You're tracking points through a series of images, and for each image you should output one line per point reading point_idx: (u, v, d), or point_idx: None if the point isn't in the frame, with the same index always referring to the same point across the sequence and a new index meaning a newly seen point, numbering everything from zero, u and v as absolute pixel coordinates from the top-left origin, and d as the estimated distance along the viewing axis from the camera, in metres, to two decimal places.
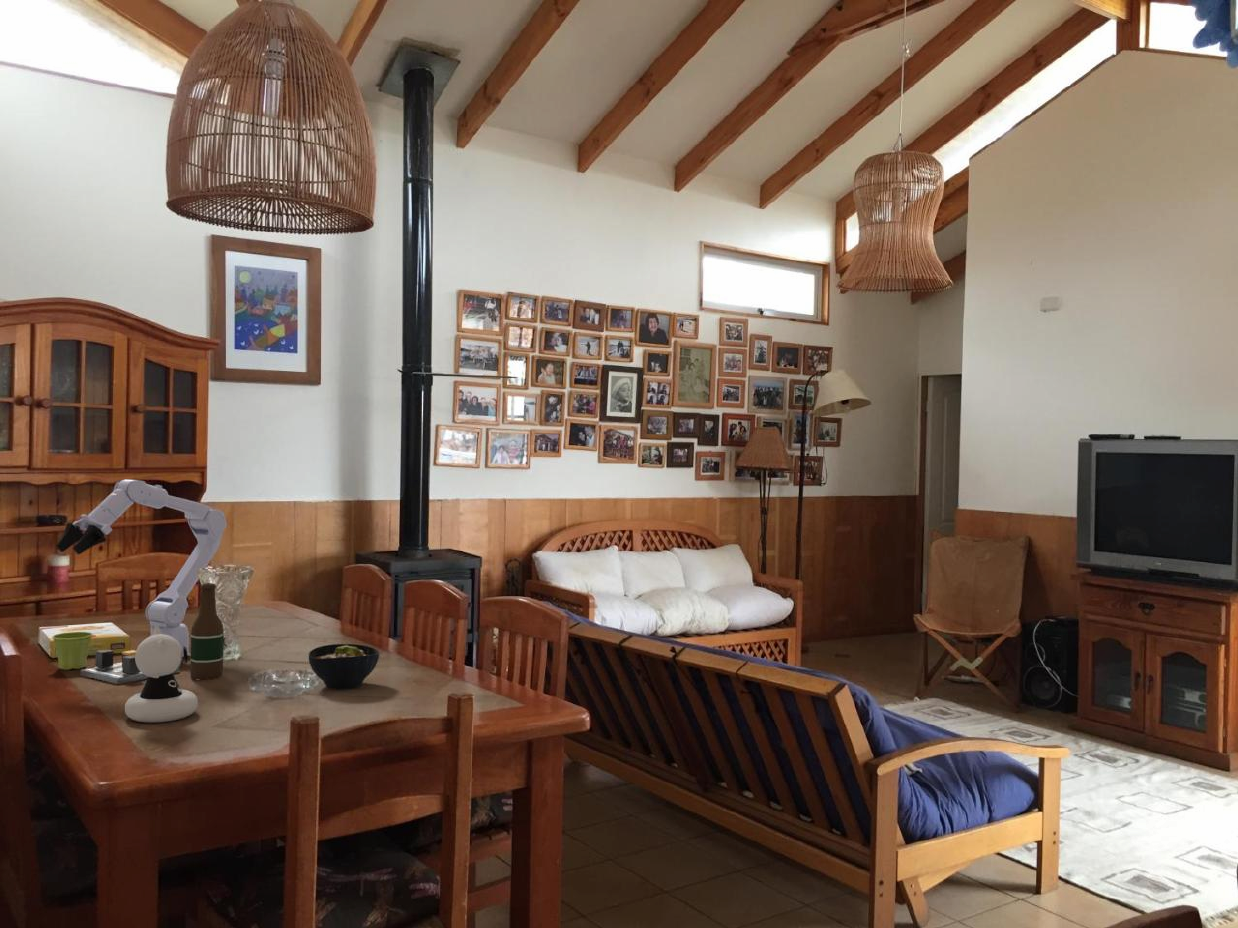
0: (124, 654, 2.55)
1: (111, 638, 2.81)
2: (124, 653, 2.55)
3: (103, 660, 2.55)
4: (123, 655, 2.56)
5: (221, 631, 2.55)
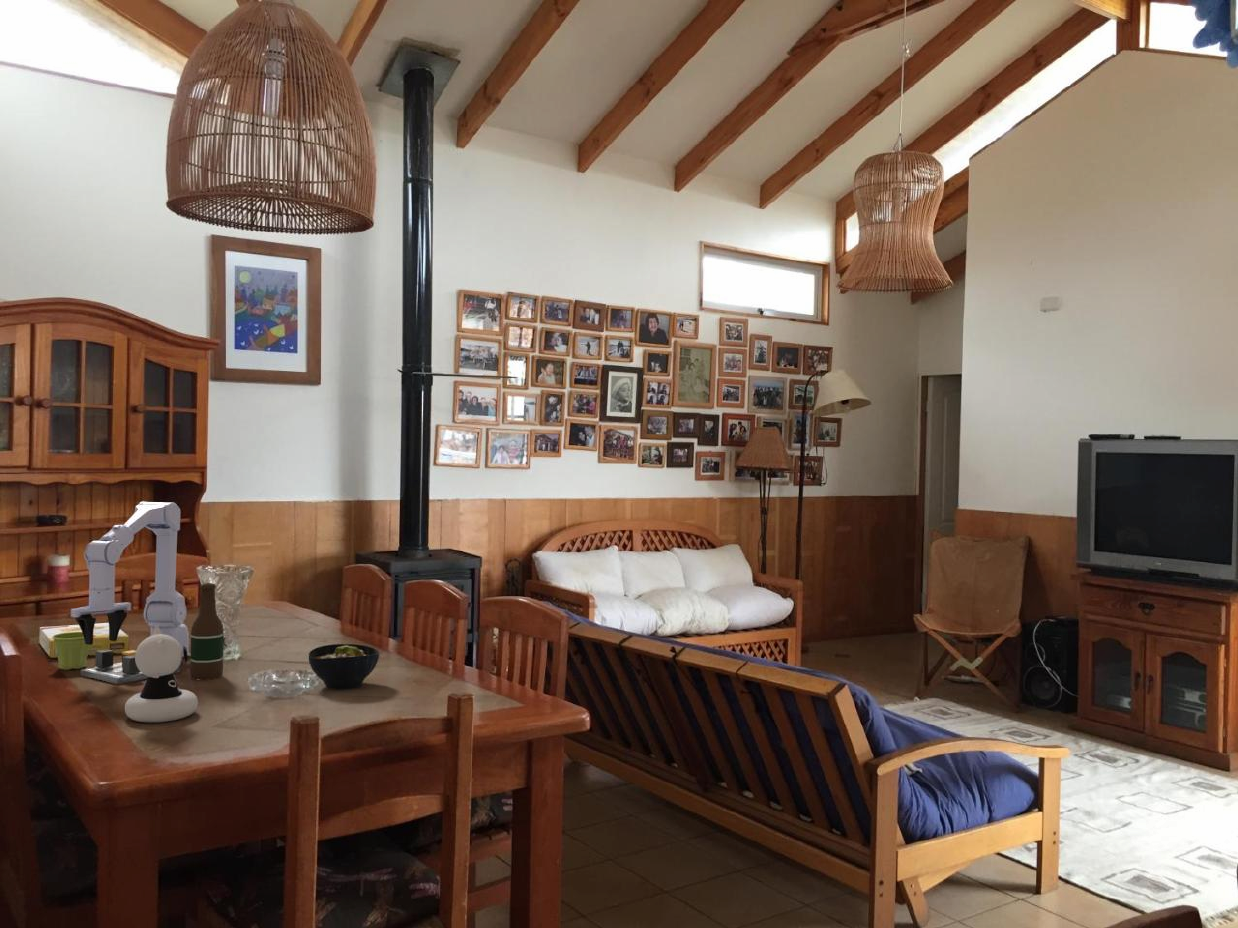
0: (124, 654, 2.55)
1: None
2: (124, 653, 2.55)
3: (103, 660, 2.55)
4: (123, 655, 2.56)
5: (221, 631, 2.55)
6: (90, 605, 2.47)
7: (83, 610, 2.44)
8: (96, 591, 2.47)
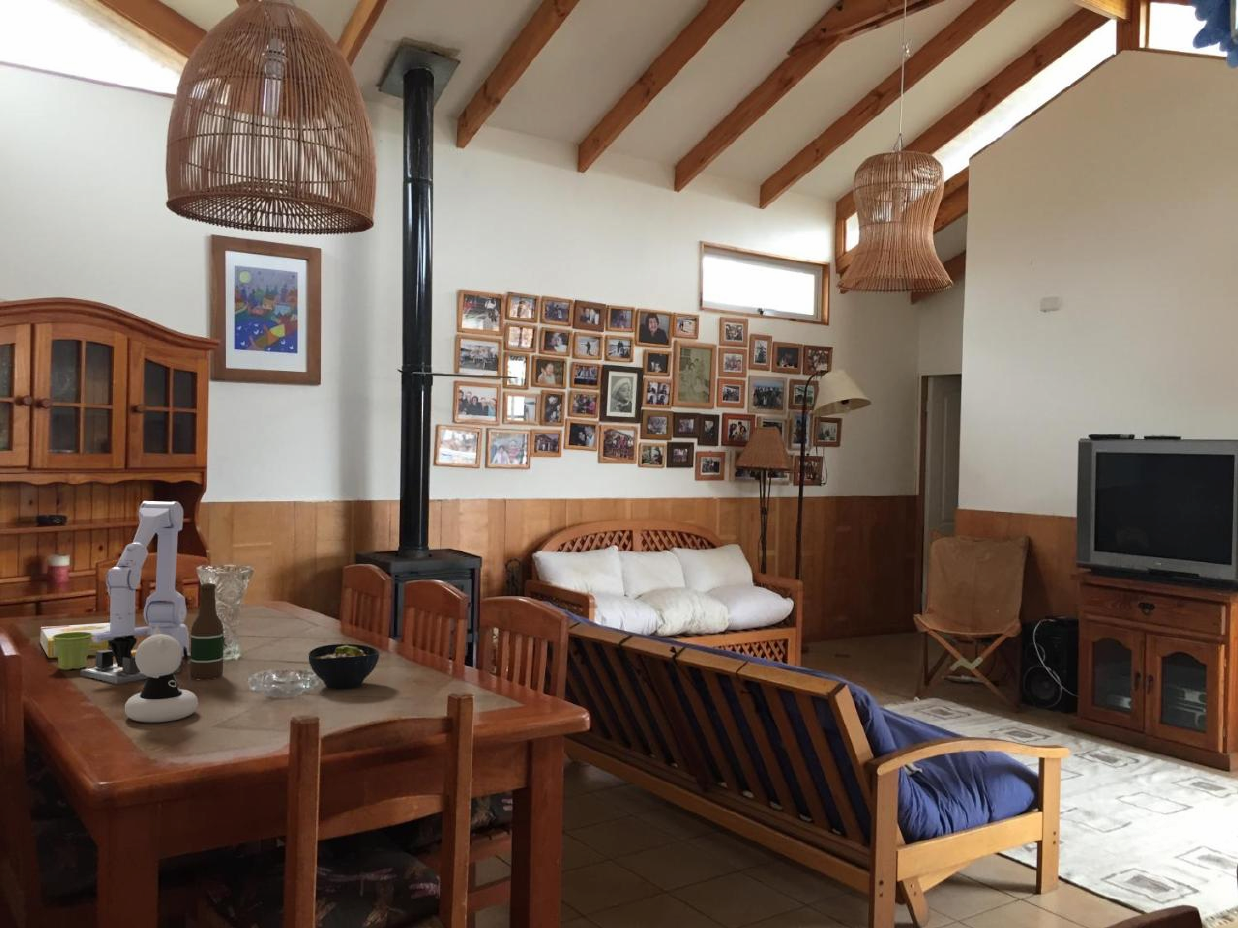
0: None
1: None
2: None
3: (103, 660, 2.55)
4: None
5: (221, 631, 2.55)
6: (111, 630, 2.52)
7: (105, 635, 2.49)
8: (117, 616, 2.52)
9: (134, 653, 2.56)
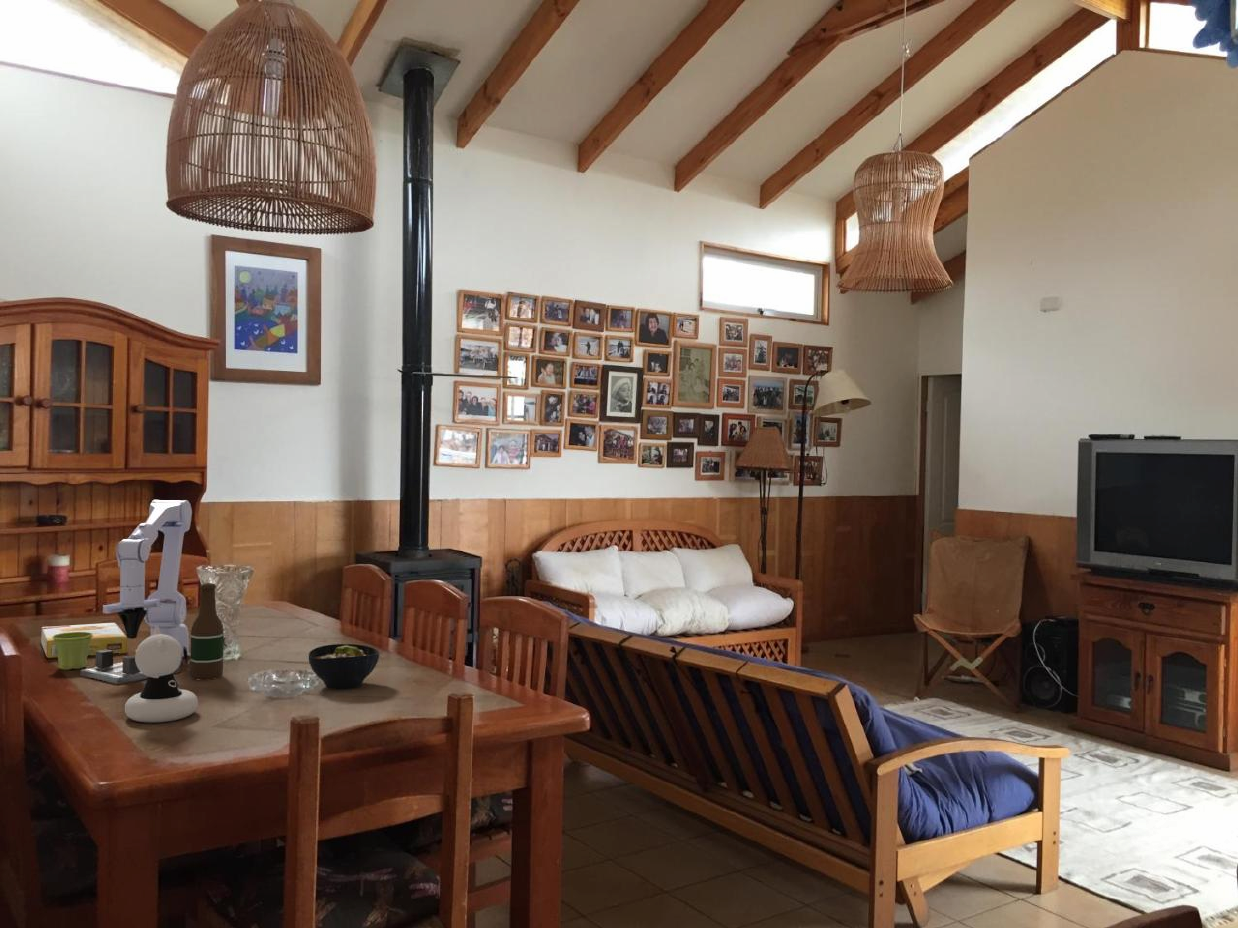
0: None
1: (107, 638, 2.80)
2: None
3: (103, 660, 2.55)
4: None
5: (221, 631, 2.55)
6: (121, 602, 2.54)
7: (115, 606, 2.51)
8: (127, 588, 2.54)
9: None
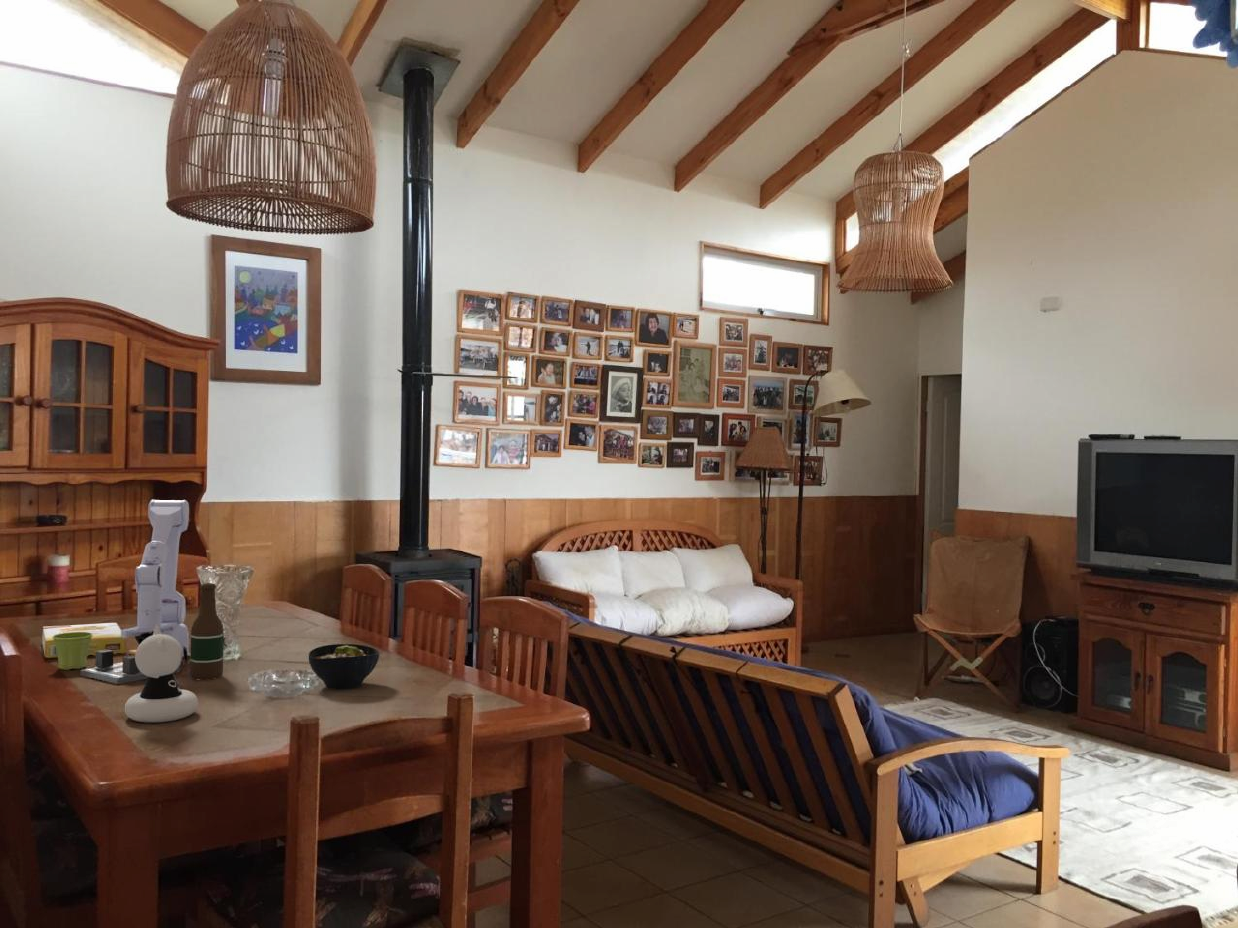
0: (131, 653, 2.57)
1: (106, 639, 2.80)
2: (131, 652, 2.57)
3: (103, 660, 2.55)
4: (130, 654, 2.57)
5: (221, 631, 2.55)
6: (139, 626, 2.58)
7: (132, 631, 2.55)
8: (144, 613, 2.58)
9: None
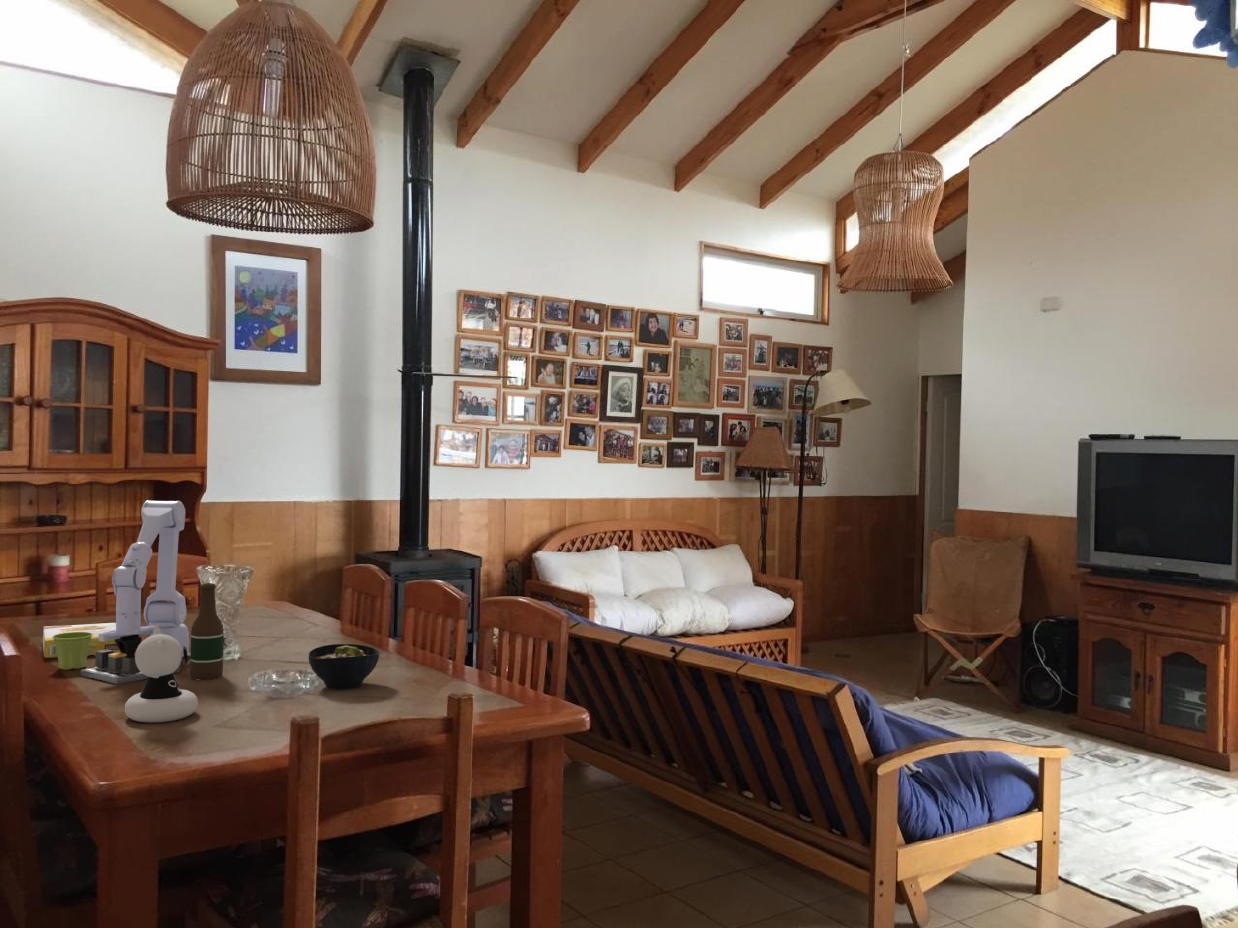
0: (110, 656, 2.52)
1: None
2: (110, 655, 2.52)
3: (103, 660, 2.55)
4: (109, 657, 2.53)
5: (221, 631, 2.55)
6: (117, 629, 2.53)
7: (111, 634, 2.51)
8: (123, 615, 2.53)
9: (118, 656, 2.52)
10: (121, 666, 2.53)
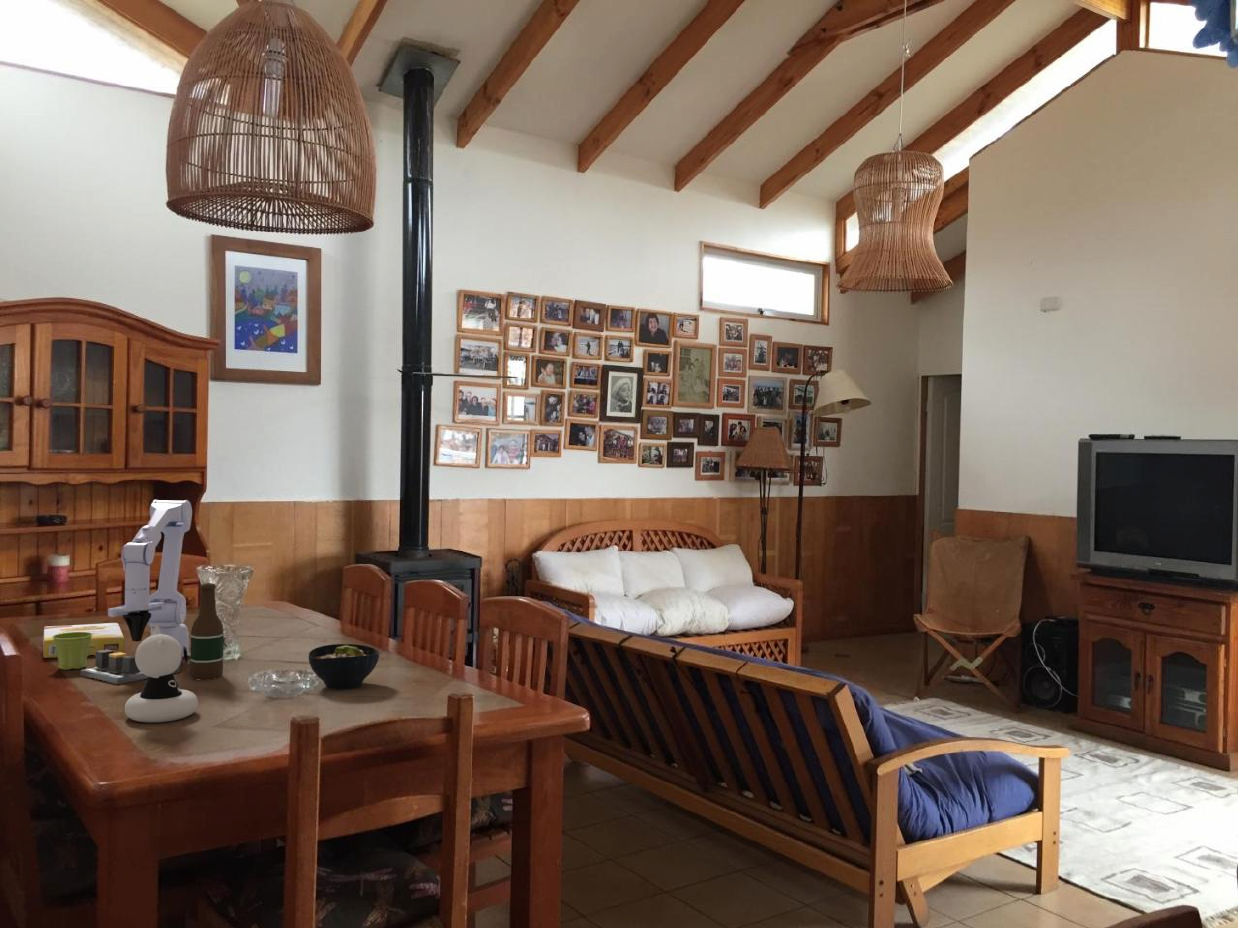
0: (111, 656, 2.52)
1: (104, 639, 2.80)
2: (111, 655, 2.52)
3: (103, 660, 2.55)
4: (110, 657, 2.53)
5: (221, 631, 2.55)
6: (126, 605, 2.55)
7: (120, 610, 2.53)
8: (132, 591, 2.55)
9: (118, 656, 2.52)
10: (121, 666, 2.53)
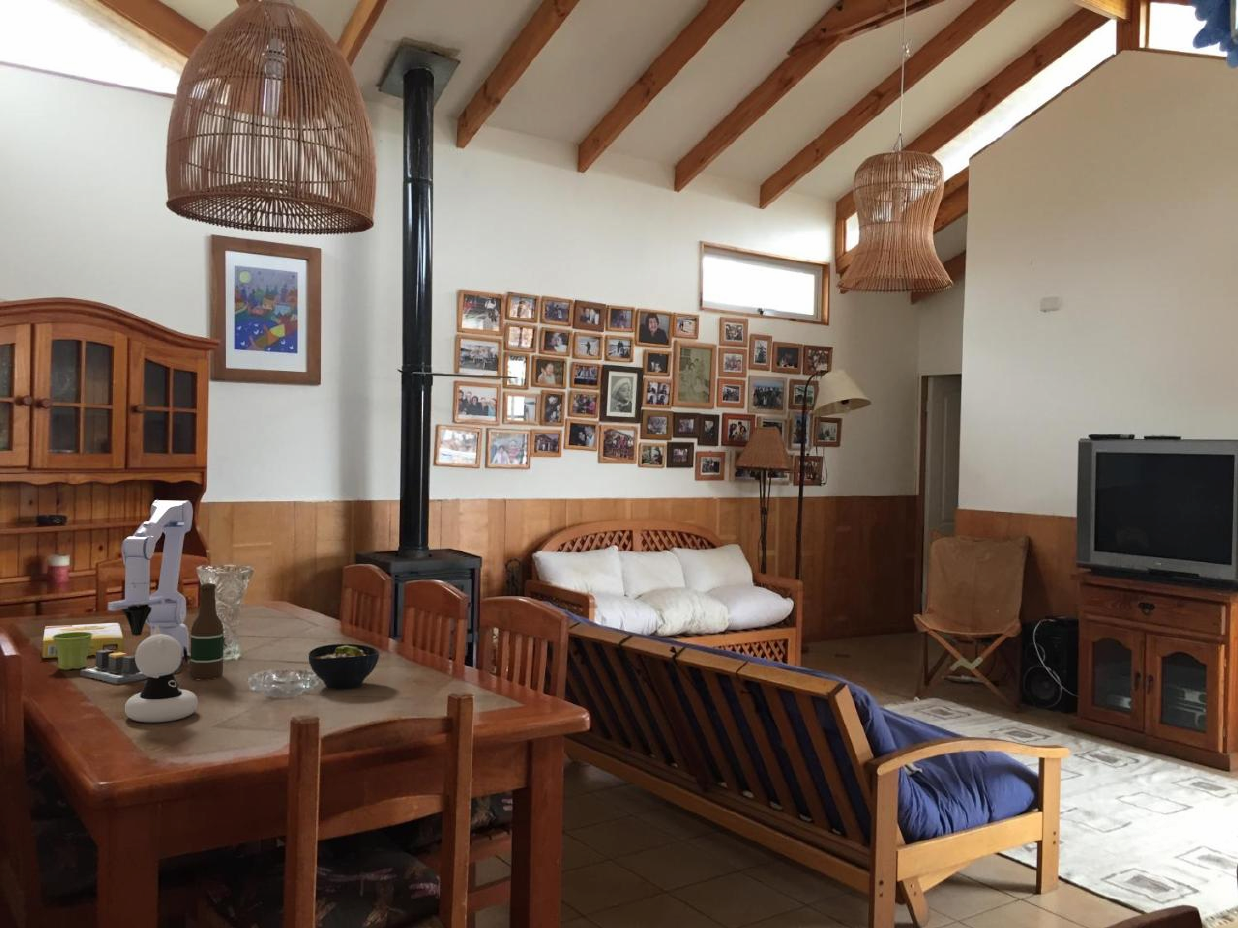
0: (111, 656, 2.52)
1: (103, 639, 2.80)
2: (111, 655, 2.52)
3: (103, 660, 2.55)
4: (110, 657, 2.53)
5: (221, 631, 2.55)
6: (126, 599, 2.55)
7: (120, 603, 2.52)
8: (132, 585, 2.55)
9: (118, 656, 2.52)
10: (121, 666, 2.53)
